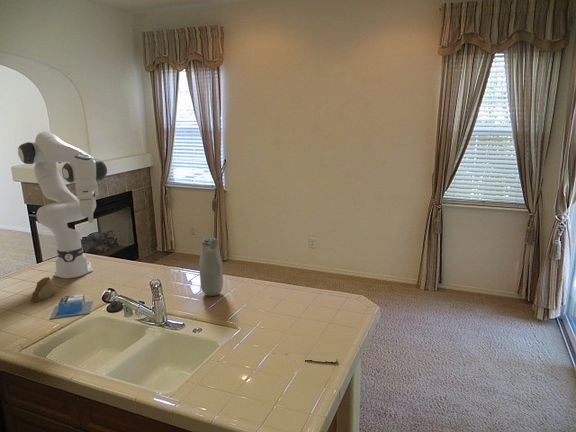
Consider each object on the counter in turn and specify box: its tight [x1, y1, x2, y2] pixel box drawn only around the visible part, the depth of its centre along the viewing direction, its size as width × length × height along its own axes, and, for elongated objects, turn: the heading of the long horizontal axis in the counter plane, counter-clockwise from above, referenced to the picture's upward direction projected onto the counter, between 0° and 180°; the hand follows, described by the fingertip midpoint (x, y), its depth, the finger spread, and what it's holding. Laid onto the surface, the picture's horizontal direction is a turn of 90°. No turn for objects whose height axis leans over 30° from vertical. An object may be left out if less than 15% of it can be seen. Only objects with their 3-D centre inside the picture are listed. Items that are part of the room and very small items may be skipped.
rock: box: [30, 276, 54, 303], centre depth 189 cm, size 11×9×10 cm
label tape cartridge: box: [57, 293, 86, 317], centre depth 178 cm, size 9×4×12 cm
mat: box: [49, 300, 94, 320], centre depth 178 cm, size 12×15×1 cm
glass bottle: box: [198, 236, 224, 297], centre depth 189 cm, size 10×10×28 cm
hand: (91, 221), depth 186 cm, fingers closed
